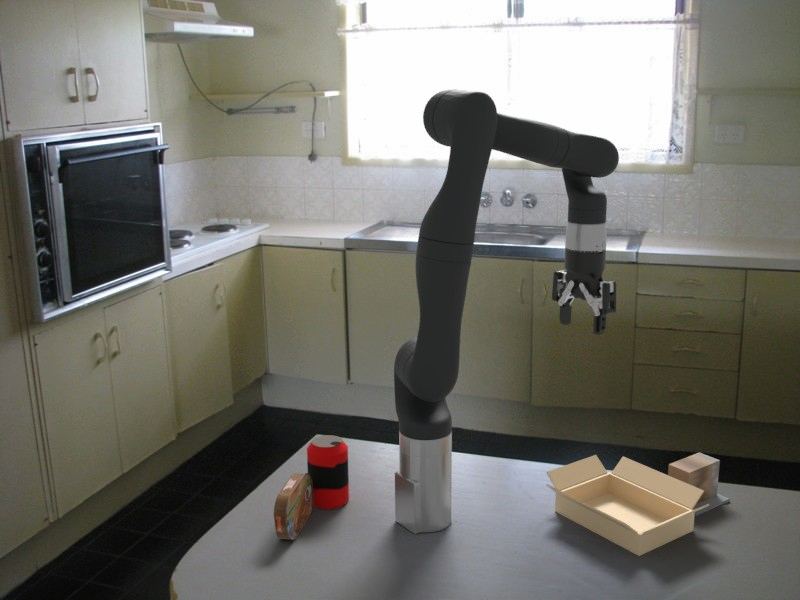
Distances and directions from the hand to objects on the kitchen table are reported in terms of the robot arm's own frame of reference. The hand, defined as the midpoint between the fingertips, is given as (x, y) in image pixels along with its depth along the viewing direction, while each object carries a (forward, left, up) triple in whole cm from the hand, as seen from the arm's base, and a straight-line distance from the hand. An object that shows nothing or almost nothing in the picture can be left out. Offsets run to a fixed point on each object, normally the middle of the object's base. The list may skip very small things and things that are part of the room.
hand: (581, 329), depth 167 cm
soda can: (-46, +19, -30) cm, 58 cm away
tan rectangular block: (+9, -21, -29) cm, 37 cm away
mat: (+9, -21, -30) cm, 38 cm away
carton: (-8, -19, -30) cm, 36 cm away
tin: (-56, +14, -30) cm, 65 cm away
